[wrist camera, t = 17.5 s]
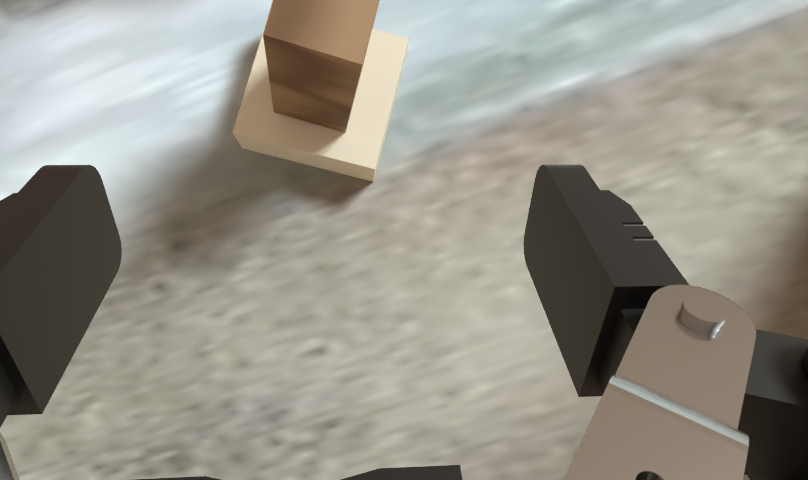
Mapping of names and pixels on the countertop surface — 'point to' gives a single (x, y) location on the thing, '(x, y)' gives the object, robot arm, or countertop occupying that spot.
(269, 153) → the slab
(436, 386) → the countertop surface
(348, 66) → the pillar
